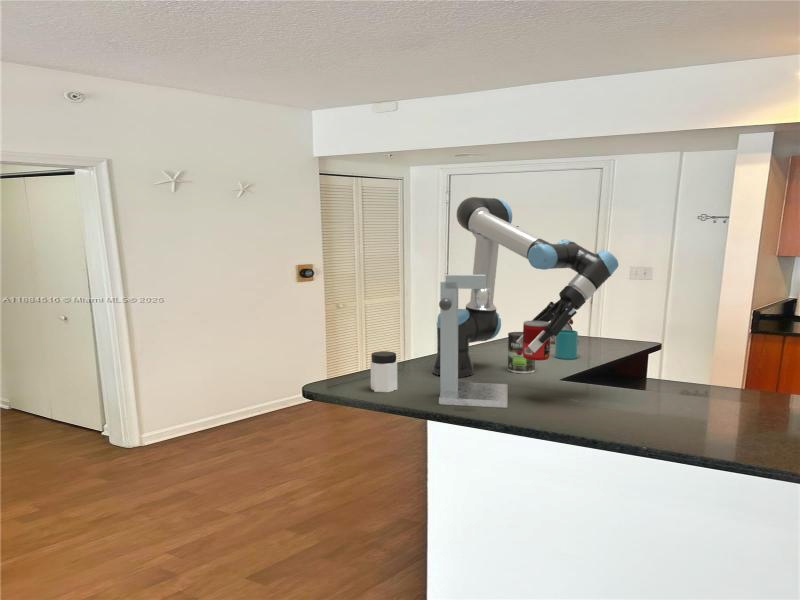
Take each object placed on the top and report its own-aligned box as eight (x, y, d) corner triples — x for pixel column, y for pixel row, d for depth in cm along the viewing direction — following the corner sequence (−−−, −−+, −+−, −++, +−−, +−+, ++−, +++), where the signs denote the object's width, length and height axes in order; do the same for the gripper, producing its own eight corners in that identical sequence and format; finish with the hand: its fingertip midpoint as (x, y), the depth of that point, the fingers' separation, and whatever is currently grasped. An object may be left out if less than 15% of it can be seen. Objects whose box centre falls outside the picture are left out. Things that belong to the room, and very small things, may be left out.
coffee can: (533, 374, 198) (533, 336, 196) (505, 372, 201) (505, 335, 200) (537, 368, 207) (537, 332, 206) (510, 366, 211) (510, 331, 210)
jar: (400, 391, 175) (400, 355, 174) (376, 393, 172) (376, 356, 171) (391, 385, 184) (391, 350, 182) (368, 387, 181) (367, 351, 180)
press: (445, 387, 180) (445, 273, 176) (507, 390, 176) (509, 273, 172) (435, 406, 158) (435, 277, 154) (507, 410, 154) (509, 277, 150)
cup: (586, 357, 228) (586, 331, 227) (567, 360, 222) (568, 333, 220) (568, 353, 236) (569, 328, 235) (550, 357, 229) (550, 330, 228)
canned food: (550, 361, 160) (551, 324, 159) (522, 360, 162) (523, 323, 161) (548, 355, 168) (549, 320, 167) (522, 354, 169) (523, 320, 168)
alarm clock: (549, 344, 259) (550, 313, 258) (548, 342, 264) (549, 312, 263) (573, 344, 258) (574, 313, 256) (571, 343, 262) (572, 312, 261)
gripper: (602, 305, 156) (548, 362, 154) (568, 297, 176) (520, 348, 175) (586, 287, 154) (531, 344, 153) (553, 281, 174) (504, 332, 173)
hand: (525, 346), depth 164 cm, fingers closed on canned food, 8 cm apart
